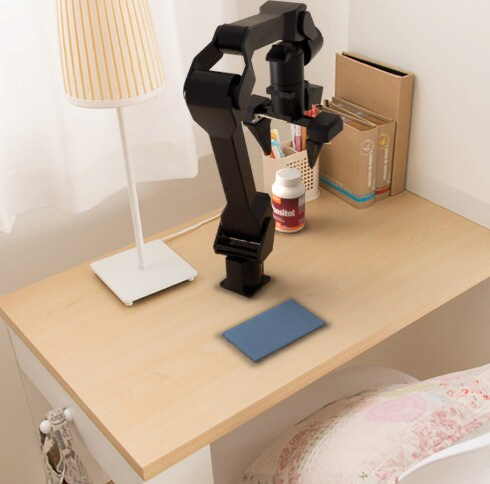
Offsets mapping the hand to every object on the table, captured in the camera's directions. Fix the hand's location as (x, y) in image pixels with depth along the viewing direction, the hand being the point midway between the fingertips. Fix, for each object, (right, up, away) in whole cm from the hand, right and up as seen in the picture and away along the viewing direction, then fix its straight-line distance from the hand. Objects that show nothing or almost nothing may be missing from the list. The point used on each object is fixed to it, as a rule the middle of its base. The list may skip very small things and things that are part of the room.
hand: (290, 160), depth 134 cm
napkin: (-3, -29, -18) cm, 35 cm away
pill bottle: (0, -11, +8) cm, 13 cm away
